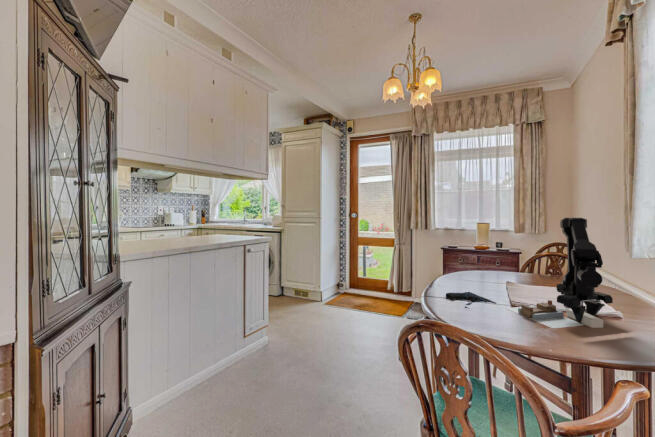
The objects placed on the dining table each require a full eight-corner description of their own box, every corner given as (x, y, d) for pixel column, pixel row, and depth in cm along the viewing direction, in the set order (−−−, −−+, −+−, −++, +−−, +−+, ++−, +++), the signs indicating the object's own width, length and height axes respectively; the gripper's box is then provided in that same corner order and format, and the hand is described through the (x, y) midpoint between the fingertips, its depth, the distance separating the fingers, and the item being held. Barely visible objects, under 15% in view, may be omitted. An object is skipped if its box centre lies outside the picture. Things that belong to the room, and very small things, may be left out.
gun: (479, 316, 126) (506, 311, 130) (479, 309, 125) (507, 305, 130) (441, 298, 148) (466, 294, 153) (441, 292, 148) (466, 289, 153)
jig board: (533, 308, 130) (533, 301, 130) (585, 328, 108) (585, 319, 108) (505, 310, 128) (505, 303, 128) (553, 331, 106) (553, 323, 106)
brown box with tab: (546, 312, 122) (546, 298, 122) (555, 315, 118) (556, 301, 118) (521, 314, 120) (521, 301, 120) (529, 318, 116) (529, 304, 116)
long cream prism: (576, 318, 118) (576, 308, 118) (603, 331, 106) (603, 320, 106) (566, 318, 118) (566, 308, 118) (591, 331, 106) (591, 320, 106)
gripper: (583, 274, 121) (582, 312, 121) (544, 277, 118) (543, 316, 118) (614, 280, 110) (613, 322, 110) (571, 284, 107) (571, 327, 107)
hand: (584, 321), depth 112 cm, fingers closed on long cream prism, 4 cm apart
